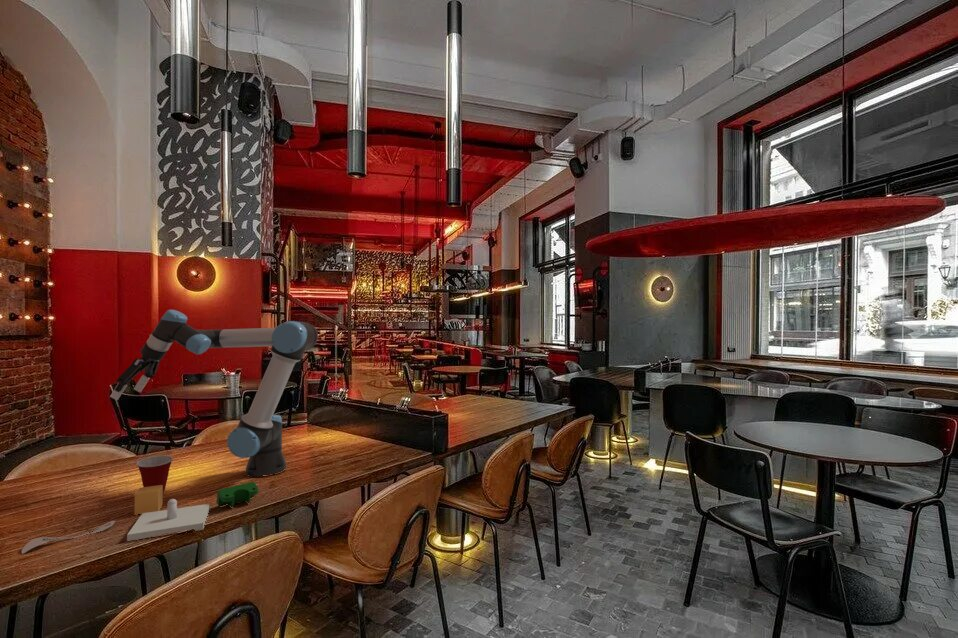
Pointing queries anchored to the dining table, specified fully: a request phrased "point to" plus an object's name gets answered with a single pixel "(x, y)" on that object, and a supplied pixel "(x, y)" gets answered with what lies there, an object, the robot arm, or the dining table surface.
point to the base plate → (169, 520)
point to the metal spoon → (42, 540)
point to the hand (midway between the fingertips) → (125, 394)
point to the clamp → (236, 494)
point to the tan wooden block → (148, 499)
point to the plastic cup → (155, 470)
